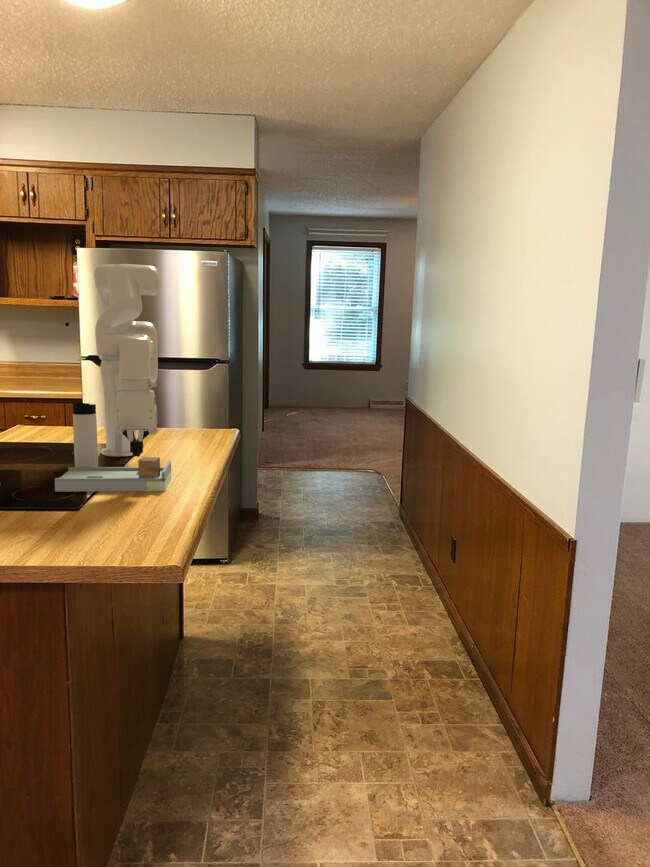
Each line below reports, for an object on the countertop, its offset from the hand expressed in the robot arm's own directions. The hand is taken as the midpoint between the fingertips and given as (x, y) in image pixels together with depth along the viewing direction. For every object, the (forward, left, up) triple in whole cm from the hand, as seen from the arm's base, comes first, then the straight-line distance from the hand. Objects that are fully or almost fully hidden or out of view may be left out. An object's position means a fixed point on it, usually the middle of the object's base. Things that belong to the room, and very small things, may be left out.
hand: (136, 455), depth 165 cm
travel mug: (-17, -17, -8) cm, 26 cm away
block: (+1, +3, -6) cm, 7 cm away
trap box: (-1, -6, -8) cm, 10 cm away
